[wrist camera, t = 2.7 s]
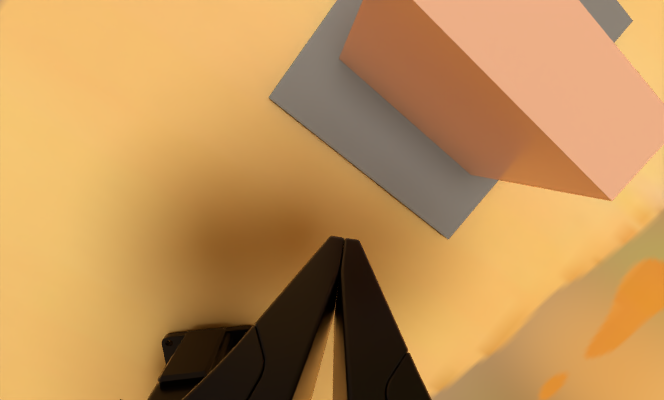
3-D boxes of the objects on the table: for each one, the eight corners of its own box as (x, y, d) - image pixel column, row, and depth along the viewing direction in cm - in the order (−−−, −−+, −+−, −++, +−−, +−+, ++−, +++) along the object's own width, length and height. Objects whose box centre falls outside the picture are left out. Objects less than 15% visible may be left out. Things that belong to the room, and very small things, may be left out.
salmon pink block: (470, 174, 19) (612, 201, 10) (338, 58, 17) (377, -36, 8) (506, 131, 19) (685, 120, 10) (377, 5, 16) (462, -155, 8)
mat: (444, 236, 21) (448, 239, 20) (269, 98, 17) (268, 97, 17) (622, 24, 19) (632, 20, 18) (463, -176, 15) (470, -188, 15)
